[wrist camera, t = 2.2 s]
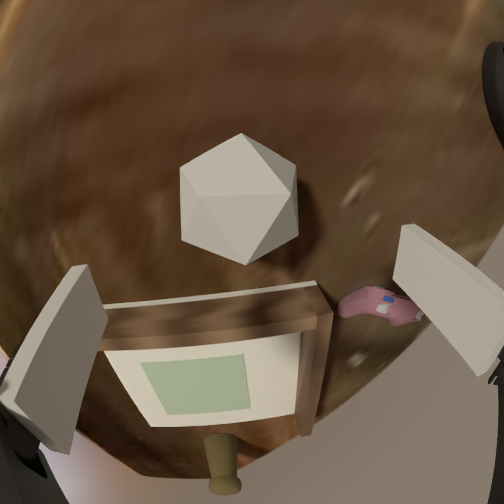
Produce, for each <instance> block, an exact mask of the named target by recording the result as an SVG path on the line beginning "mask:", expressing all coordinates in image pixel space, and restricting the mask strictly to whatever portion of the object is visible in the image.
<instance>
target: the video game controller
mask: <svg viewBox="0 0 504 504" xmlns="http://www.w3.org/2000/svg"><path fill="white" fill-rule="evenodd" d="M337 311H338V314H339V316H340V317H342V318H349V317H352V316H355V315H359V314H364V313H365V314H372V315H375V316H378V317H383V318H387V319H388V321H389V324H390V325H392V326H396V327H397V326H401V325H404V324H407V323H410V322H418V321H419V320H420V321H421V318H422V316H423V315H424V312H423V311H422V310H421V309H420V308H419V307H418V306H417V304H416V303H415V302H414V301H413V300H412V299H411V298H410V297H409V296H406V297H405V296H401V295H396V294H395V293H394V292H391V291H389V290H386V289H385V288H382V287H379V286H376V285H373V287H372V286H363V287H362V288H360V289H357V290H355V291H352V292H351V293H349V294H347V295H346V296H345V297H344V298H342V300H341V301H340V302H339V304H338V306H337Z"/></svg>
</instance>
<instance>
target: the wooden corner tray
mask: <svg viewBox="0 0 504 504" xmlns="http://www.w3.org/2000/svg"><path fill="white" fill-rule="evenodd" d="M103 307H104V310H105V312H106V314H107V317H108V322H107V325H106V327H105V330H104V333H103V336H102V338H101V341H100V344H99V347H98V350H97V351H104V352H105V354H106V356H107V358H108V360H109V362H110V363H111V365H112V367H113V369H114V370H115V372H116V374H117V375H118V377H119V379H120V380H121V382H122V384H123V385H124V387H125V389H126V390H127V392H128V393H129V395H130V397H131V398H132V400H133V401H134V403H135V404H136V406H137V407H138V409H139V410H140V412H141V413H142V415H143V416H144V417H145V419H146V420H147V422H148V423H149V424H150V426H151V427H177V426H201V425H215V424H226V423H236V422H244V421H252V420H259V419H265V418H272V417H278V416H283V415H289V414H295V418H296V421H297V425H298V428H299V432H300V435H301V437H304V436H308V435H311V433H312V428H313V424H314V420H315V416H316V411H317V406H318V402H319V397H320V392H321V387H322V382H323V377H324V371H325V366H326V360H327V354H328V348H329V342H330V335H331V328H332V321H333V314H334V313H333V311H332V309H331V308H330V306H329V304H328V302H327V301H326V299H325V297H324V295H323V294H322V292H321V290H320V288H319V287H318V285H317V283H316V282H315V281H308V282H301V283H294V284H287V285H280V286H273V287H266V288H258V289H251V290H243V291H235V292H227V293H218V294H210V295H201V296H192V297H182V298H173V299H163V300H152V301H142V302H130V303H118V304H106V305H103Z"/></svg>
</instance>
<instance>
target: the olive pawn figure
mask: <svg viewBox="0 0 504 504" xmlns="http://www.w3.org/2000/svg"><path fill="white" fill-rule="evenodd" d="M204 445H205V450H206V455H207V459H208V464H209V468H210V472H211V476H212V478H211V479H210V481H209V488H210V490H211V492H212V493H214V494H217V495H233V494H236V493H238V492H239V491H240V490H241V486H242V485H241V481H240V479H239V478H238V477H237V448H238V438H237V437H236V436H234V435H231V434H225V433H218V434H212V435H209V436H207V437H205V438H204Z"/></svg>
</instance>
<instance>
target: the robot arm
mask: <svg viewBox="0 0 504 504" xmlns="http://www.w3.org/2000/svg"><path fill="white" fill-rule="evenodd" d="M483 85H484V92H485V98H486V102H487V106H488V110H489V114H490V117H491V119H492V122H493V125H494V127H495V129H496V131H497V133H498V134H499V136H500V137H501V139H502V140H503V141H504V42H492V43H491V44H489V46H488V47H487V49H486V51H485V54H484V59H483ZM393 280H394V281H395V282H396V283H397V284H398V285H399V286H400V287H401V288H402V289H403V291H404V292H405V293H406V294H407V295H408V296H409V297H410V298H411V299H412V300H413V301H414V302H415V303H416V304H417V306H418V307H419V308H420V309H421V310H422V311H423V312H424V313H425V314H426V315H427V317H428V318H429V319H430V320H431V321H432V322H433V323H434V324H435V326H436V327H437V328H438V329H439V330H440V331H441V333H443V335H444V336H445V337H446V338H447V340H448V341H449V342H450V343H451V344H452V345H453V347H454V348H455V349H456V350H457V351H458V353H459V354H460V355H461V356H462V357H463V359H464V360H465V361H466V363H467V364H468V365H469V366H470V368H471V369H472V370H473V372H474V373H475V374H476V375H477V377H478V376H480V375H481V374H483V373H484V372H486V371H487V370H489V369H490V367H491V366H492V364H493V363H494V361H495V359H496V358H497V357H498V358H499V359H500V360H501V361H500V363H499V364H498V366H497V368H496V369H495V371H494V372H493V374H492V375H491V376H490V378H489V380H488V384H490V383H491V382H492V381H493V379H494V377H495V376H498V377H497V378H496V380H495V381H494V383H493V384H494V385H498V399H499V400H498V401H499V414H498V415H499V416H498V437H497V450H496V459H495V466H494V473H493V479H492V485H491V490H490V495H489V500H488V504H504V290H502V289H501V288H500V287H499V286H498V285H497V284H495V283H494V282H493V281H492V280H490V279H489V278H488V277H487V276H486V275H484V274H483V273H482V272H480V271H479V270H478V269H477V268H476V267H474V266H473V265H472V264H470V263H469V262H468V261H466V260H465V259H464V258H463V257H461V256H460V255H458V254H457V253H456V252H454V251H453V250H452V249H450V248H449V247H447V246H446V245H445V244H443V243H442V242H440V241H439V240H438V239H436V238H435V237H433V236H432V235H430V234H429V233H427V232H426V231H424V230H423V229H421V228H420V227H418V226H417V225H415V224H410V225H402V228H401V235H400V241H399V247H398V253H397V258H396V264H395V269H394V274H393ZM107 322H108V317H107V314H106V312H105V310H104V307H103V305H102V302H101V300H100V297H99V295H98V292H97V289H96V287H95V284H94V281H93V279H92V276H91V273H90V270H89V268H88V265H87V264H86V265H79V266H72V267H71V269H70V270H69V272H68V273H67V274H66V276H65V277H64V278H63V280H62V281H61V283H60V284H59V286H58V287H57V289H56V290H55V291H54V293H53V294H52V296H51V297H50V299H49V300H48V302H47V304H46V305H45V307H44V308H43V310H42V311H41V313H40V315H39V316H38V318H37V319H36V321H35V323H34V324H33V326H32V328H31V329H30V331H29V333H28V335H27V336H26V337H25V338H24V339H23V340H22V341H21V342H20V343H19V344H18V345H17V346H16V348H15V350H14V352H13V353H12V355H11V359H9V361H8V363H7V365H6V368H5V369H4V371H3V373H2V375H1V377H0V504H69V503H68V501H67V499H66V497H65V496H64V494H63V492H62V490H61V488H60V487H59V485H58V483H57V481H56V479H55V477H54V475H53V473H52V471H51V469H50V467H49V464H48V462H47V460H46V458H45V456H44V454H43V453H42V451H41V450H40V449H39V444H40V442H42V443H43V444H44V445H45V446H46V447H47V448H48V449H50V450H51V451H55V452H60V453H64V454H70V450H71V444H72V440H73V435H74V431H75V427H76V422H77V418H78V414H79V410H80V406H81V403H82V399H83V395H84V392H85V388H86V385H87V381H88V378H89V375H90V372H91V368H92V365H93V362H94V359H95V356H96V353H97V350H98V347H99V344H100V341H101V338H102V336H103V333H104V330H105V327H106V325H107Z"/></svg>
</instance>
